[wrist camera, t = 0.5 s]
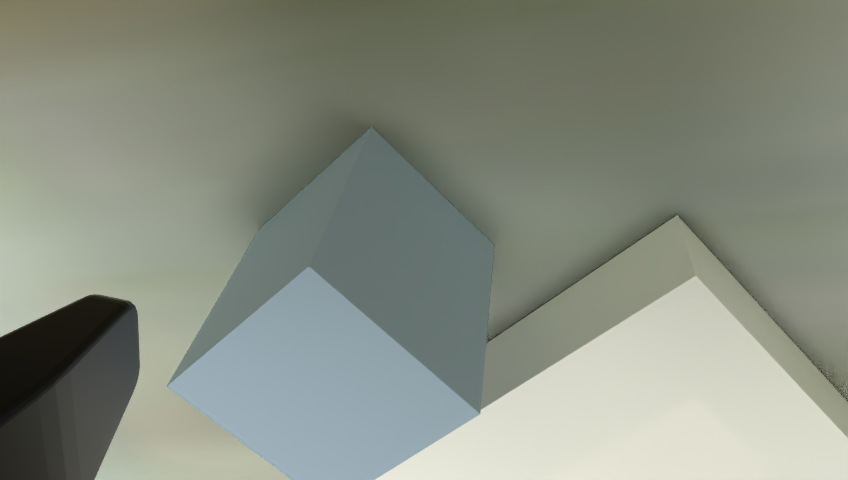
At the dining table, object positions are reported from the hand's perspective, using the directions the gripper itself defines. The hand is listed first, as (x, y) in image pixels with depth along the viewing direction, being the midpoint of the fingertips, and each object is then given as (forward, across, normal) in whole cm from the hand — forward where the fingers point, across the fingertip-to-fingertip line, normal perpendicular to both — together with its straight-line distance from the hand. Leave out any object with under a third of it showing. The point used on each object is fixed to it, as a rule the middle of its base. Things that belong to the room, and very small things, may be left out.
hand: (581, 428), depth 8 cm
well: (+14, -7, +13) cm, 20 cm away
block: (+14, +4, +7) cm, 16 cm away
